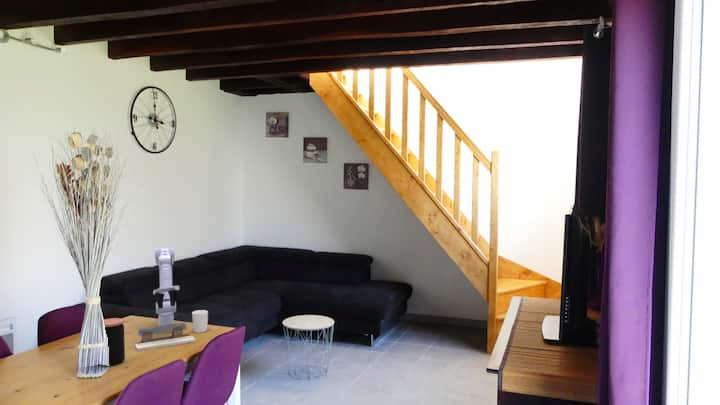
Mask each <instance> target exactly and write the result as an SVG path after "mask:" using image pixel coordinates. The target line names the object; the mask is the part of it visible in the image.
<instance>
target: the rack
mask: <svg viewBox="0 0 720 405" xmlns="http://www.w3.org/2000/svg"><path fill="white" fill-rule="evenodd" d="M183 332H184V330H182V328H176V329H174V331H173V332H171V335H167V336H159V337H154V336H153V335H154V334H153V332H148V333H143V336H141V339H140V344H141V343H147V342H154V341H161V340H167V339H174V338H180V337H184V336H183Z"/></svg>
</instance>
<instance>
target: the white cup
mask: <svg viewBox="0 0 720 405" xmlns="http://www.w3.org/2000/svg"><path fill="white" fill-rule="evenodd" d="M191 314H192V317H191V318H192V327H193V328H192V329H193V332H194V333H197V334H198V333H199V334H200V333H205V332H207V331H208V320H209V317H208V316H209V311H208V310H206V309H202V310H201V309H199V310H193V311H192V312H191Z"/></svg>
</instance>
